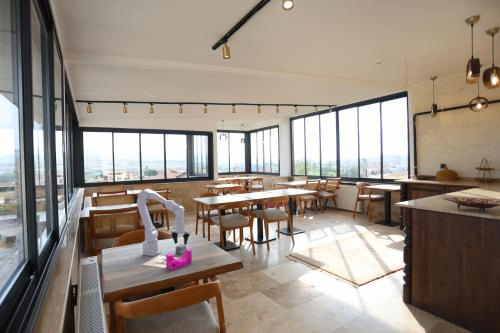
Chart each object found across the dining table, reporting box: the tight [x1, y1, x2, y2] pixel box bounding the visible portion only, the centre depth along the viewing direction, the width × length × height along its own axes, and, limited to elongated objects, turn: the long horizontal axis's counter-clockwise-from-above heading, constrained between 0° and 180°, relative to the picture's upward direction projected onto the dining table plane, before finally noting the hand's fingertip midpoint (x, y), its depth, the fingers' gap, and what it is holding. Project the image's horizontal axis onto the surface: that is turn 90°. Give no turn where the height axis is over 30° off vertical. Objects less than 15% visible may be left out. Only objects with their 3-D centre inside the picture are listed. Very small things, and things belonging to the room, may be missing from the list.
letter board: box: [141, 255, 180, 269], centre depth 173 cm, size 17×16×1 cm
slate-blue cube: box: [175, 243, 187, 256], centre depth 188 cm, size 5×5×5 cm
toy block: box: [165, 248, 193, 271], centre depth 167 cm, size 15×6×8 cm, turn 130°
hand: (180, 243), depth 188 cm, fingers open, 7 cm apart
